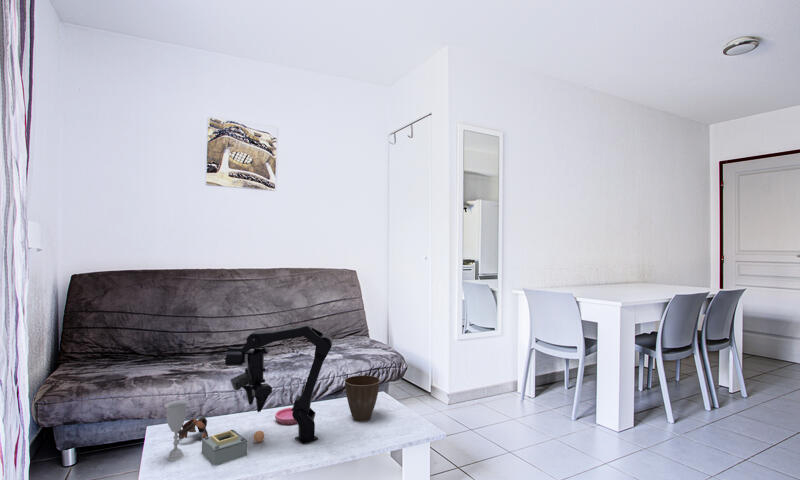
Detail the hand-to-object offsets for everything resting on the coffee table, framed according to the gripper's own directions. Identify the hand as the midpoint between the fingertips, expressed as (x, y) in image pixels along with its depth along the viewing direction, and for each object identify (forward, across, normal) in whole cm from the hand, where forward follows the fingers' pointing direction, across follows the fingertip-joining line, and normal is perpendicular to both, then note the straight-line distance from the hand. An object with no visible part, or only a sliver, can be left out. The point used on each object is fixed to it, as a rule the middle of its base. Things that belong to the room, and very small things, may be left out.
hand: (254, 408), depth 158 cm
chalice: (+13, -4, -25) cm, 29 cm away
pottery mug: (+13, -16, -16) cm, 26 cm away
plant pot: (+12, +5, +44) cm, 46 cm away
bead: (+12, +2, +1) cm, 12 cm away
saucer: (+12, -11, +19) cm, 25 cm away
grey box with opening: (+12, +4, -12) cm, 17 cm away
